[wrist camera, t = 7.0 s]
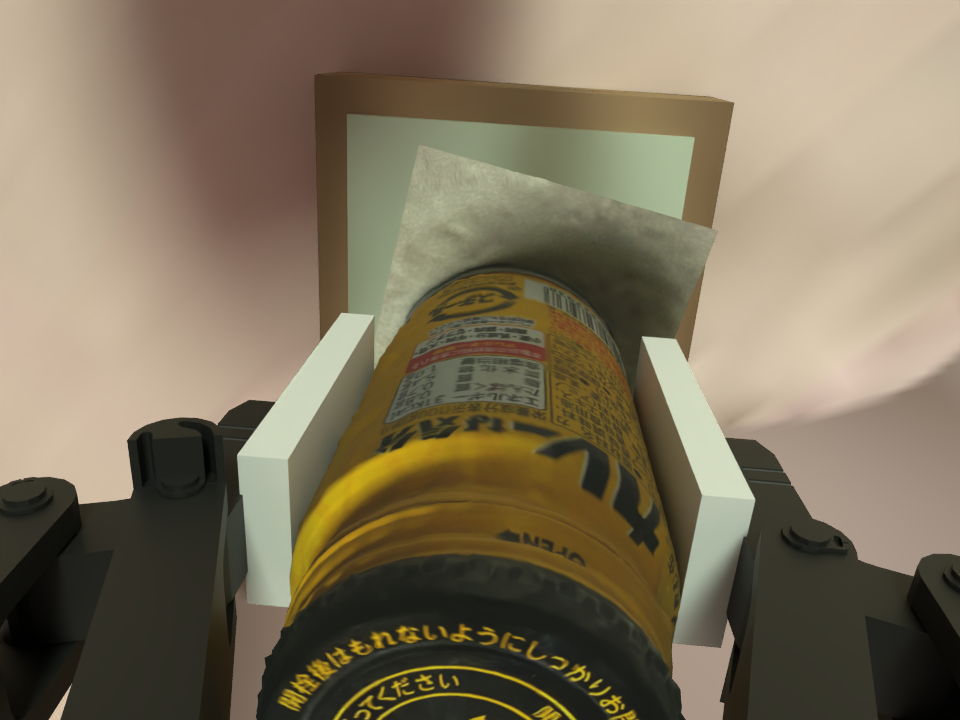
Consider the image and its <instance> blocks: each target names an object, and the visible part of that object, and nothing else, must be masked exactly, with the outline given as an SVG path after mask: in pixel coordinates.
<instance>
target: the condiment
mask: <svg viewBox="0 0 960 720" xmlns="http://www.w3.org/2000/svg"><path fill="white" fill-rule="evenodd" d="M717 232H718V231H717V230H714V229H711V228H708V227H704V226H701V225H697V224H694V223H690V222H685V221H683V220H681V219H678V218H675V217H671V216H668V215H664V214H661V213H657V212H654V211H651V210H647V209H644V208H640V207H637V206H633V205H629V204H625V203H622V202H619V201H616V200H614V199H610V198H606V197H603V196H599V195H595V194H592V193H589V192H585V191H582V190H578V189H575V188H571V187H568V186H564V185H560V184H557V183H554V182H551V181H548V180H546V179H542V178H538V177H533V176H529V175H525V174H521V173H518V172H513V171H510V170H507V169H504V168H500V167H497V166H494V165H490V164H487V163H484V162H480V161H477V160H473V159H468V158H465V157H461V156H458V155H454V154H451V153H447V152H444V151H440V150H437V149H433V148H430V147H426V146H423V145H419V147H418V151H417V155H416V160H415V164H414V168H413V172H412V176H411V181H410V185H409V190H408V194H407V199H406V203H405V208H404V212H403V216H402V220H401V224H400V228H399V233H398V239H397V244H396V248H395V252H394V256H393V260H392V264H391V268H390V272H389V278H388V282H387V286H386V290H385V295H384V300H383V304H382V309H381V314H380V318H379V323H378V327H377V331H376V336H375V340H374V371H373V374H372V377H371V380H370V383H369V386H368V388H367V390H366V391H365V393H364V397H363V399H362V401H361V404H360V406H359V409H358V410H357V412H356V413H355V415H354V416H353V417H352V420H351V423H350V425H349V427H348V428H347V430H346V431H345V433H344V434H343V436H342V437H341V438H340V440H339V441H338V446H337V450H336V452H335V454H334V456H333V459H332V461H331V462H330V464H329V465H328V468H327V472H326V473H325V475H324V477H323V478H322V480H321V482H320V484H319V486H318V488H317V490H316V492H315V494H314V496H313V499H312V501H311V503H310V505H309V507H308V509H307V511H306V513H305V515H304V517H303V519H302V520H301V522H300V524H299V527H298V535H297V541H296V544H295V548H294V551H293V556H292V563H291V569H290V576H289V579H290V594H291V602H290V605H289V608H288V612H287V615H286V620H285V624H284V627H283V629H282V630H281V638H280V639H279V641H278V643H277V644H276V646H275V647H274V649H273V650H272V654H271V655H269V656H268V657H265V663H266V669H265V671H264V674H263V676H262V690H261V691H260V692H259V694H258V707H257V715H256V718H257V720H685V718H684V717H683V715H682V714H681V709H682V704H681V692H680V688H679V687H678V685H677V684H676V683H675V682H674V681H673V679H672V668H673V666H672V641H673V633H674V630H675V625H676V622H677V619H678V612H679V609H680V579H679V573H678V566H677V562H676V558H675V553H674V549H673V545H672V541H671V537H670V533H669V530H668V525H667V521H666V518H665V514H664V511H663V508H662V502H661V499H660V496H659V493H658V491H657V486H656V483H655V479H654V476H653V473H652V468H651V464H650V460H649V457H648V452H647V448H646V446H645V442H644V439H643V435H642V432H641V426H640V424H639V420H638V415H637V412H636V409H635V406H634V403H633V399H632V398H633V392H634V385H635V379H636V372H637V365H638V359H639V352H640V346H641V339H642V336H643V337H656V338H669V339H674V338H675V335H676V333H677V331H678V329H679V326H680V323H681V320H682V317H683V315H684V312H685V310H686V308H687V306H688V303H689V300H690V297H691V295H692V293H693V291H694V288H695V286H696V284H697V282H698V279H699V277H700V275H701V273H702V271H703V268H704V266H705V263H706V260H707V257H708V254H709V252H710V250H711V247H712V245H713V242H714V240H715V237H716V234H717Z"/></svg>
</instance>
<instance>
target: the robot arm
mask: <svg viewBox="0 0 960 720" xmlns="http://www.w3.org/2000/svg"><path fill="white" fill-rule="evenodd" d="M374 321H375V315H363V314H351V313H341V314H340V316H339V317H338V318H337V320H336V321H335V322H334V324H333V325H332V326H331V328H330V329H329V331H328V332H327V333H326V335H325V336H324V337H323V339H322V340H321V341H320V343H319V344H318V346H317V347H316V348H315V350H314V351H313V352H312V354H311V355H310V356H309V358H308V359H307V360H306V362H305V363H304V365H303V366H302V367H301V369H300V370H299V371H298V373H297V374H296V375H295V377H294V378H293V380H292V381H291V382H290V384H289V385H288V386H287V388H286V389H285V390H284V392H283V393H282V395H281V396H280V397H279V399H278V400H277V401H276V402H268V401H256V400H248V401H246V402H245V403H243V404H241V405H239V406H237V407H235V408H233V409H231V410H229V411H228V412H227V414H226V415H225V416H224V417H223V418H222V420H221V421H220V422H219V423H218V426H217V425H216V424H214V423H213V422H211V421H207V420H203V419H199V418H174V419H166V420H161V421H158V422H155V423H151V424H148V425H146V426H144V427H142V428H140V429H139V430H137V431H135V432H134V433H133V434H132V435H131V436H130V438H129V439H128V440H127V443H128V450H129V458H130V465H131V473H132V480H133V488H134V490H133V493H132V496H131V498H130V499H124V500H118V501H109V502H99V503H89V504H79V503H78V497H77V492H76V489H75V486H74V485H73V484H71V483H69V482H68V481H66V480H64V479H58V478H52V477H41V478H36V477H31V478H24V480H21V479H19V480H16V481H12V482H10V483H8V484H6V485H3V486H1V487H0V720H49V718H50V717H51V715H52V713H53V712H54V710H55V709H56V707H57V706H58V704H59V703H60V701H61V699H62V698H63V696H64V695H65V693H66V692H67V690H68V688H69V687H70V685H71V684H72V685H71V688H70V692H69V695H68V698H67V701H66V704H65V707H64V710H63V714H62V717H61V720H230V707H231V693H232V678H233V664H234V650H235V635H236V621H237V615H236V603H235V594H236V592H237V591H238V589H239V587H240V585H241V583H242V581H243V580H244V578H245V576H246V588H247V602H248V604H259V605H270V606H280V607H289V605H290V602H291V594H290V579H289V576H290V569H291V563H292V556H293V551H294V548H295V544H296V541H297V535H298V527H299V524H300V522H301V520H302V519H303V517H304V515H305V513H306V511H307V509H308V507H309V505H310V503H311V501H312V499H313V496H314V494H315V492H316V490H317V488H318V486H319V484H320V482H321V480H322V478H323V477H324V475H325V473H326V472H327V468H328V465H329V464H330V462H331V461H332V459H333V456H334V454H335V452H336V450H337V446H338V441H339V440H340V438H341V437H342V436H343V434H344V433H345V431H346V430H347V428H348V427H349V425H350V423H351V420H352V417H353V416H354V415H355V413H356V412H357V410H358V409H359V406H360V404H361V401H362V399H363V397H364V393H365V391H366V390H367V388H368V386H369V383H370V380H371V377H372V374H373V371H374ZM632 399H633V403H634V406H635V409H636V412H637V415H638V420H639V424H640V426H641V432H642V435H643V439H644V442H645V446H646V448H647V452H648V457H649V460H650V464H651V468H652V473H653V476H654V479H655V483H656V486H657V491H658V493H659V496H660V499H661V502H662V508H663V511H664V514H665V518H666V521H667V525H668V530H669V533H670V537H671V541H672V545H673V549H674V553H675V558H676V562H677V566H678V573H679V579H680V609H679V612H678V619H677V622H676V625H675V630H674V633H673V641H672V643H677V644H686V645H697V646H707V647H719V648H721V645H722V640H723V637H724V632H725V628H726V624H727V619H728V620H729V623H730V626H731V629H732V632H733V635H734V638H735V641H734V645H733V649H732V653H731V657H730V661H729V666H728V670H727V674H726V678H725V683H724V686H723V690H722V694H721V699H720V702H723V703H724V713H723V720H960V556H957V555H952V554H932V555H929V556H926V557H923V558H922V559H921V561H920V562H919V564H918V566H917V569H916V572H915V575H914V577H913V576H910V575H906V574H902V573H899V572H895V571H891V570H888V569H884V568H880V567H877V566H874V565H871V564H867V563H865V562H862V561H860V560H858V557H857V552H856V549H855V547H854V545H853V543H852V542H851V541H850V540H849V539H848V538H847V537H846V536H845V535H844V534H843V533H842V532H841V531H839V530H837V529H835V528H833V527H832V526H830V525H828V524H826V523H824V522H821V521H817V520H814V519H812V517H811V515H810V514H809V512H808V511H807V509H806V507H805V506H804V504H803V502H802V500H801V499H800V497H799V495H798V494H797V492H796V490H795V489H794V487H793V486H791V482H790V480H789V479H788V477H787V475H786V474H785V473H783V469H782V467H781V466H780V464H779V462H778V460H777V458H776V457H775V455H774V454H773V453H771V452H770V451H769V450H767V449H766V448H765V447H763V446H762V445H761V444H760V443H758V442H757V441H756V440H747V439H734V438H725V437H724V435H723V433H722V431H721V429H720V427H719V425H718V423H717V421H716V419H715V417H714V415H713V413H712V411H711V409H710V407H709V405H708V403H707V401H706V399H705V397H704V395H703V393H702V391H701V389H700V387H699V385H698V383H697V381H696V379H695V377H694V375H693V373H692V371H691V369H690V367H689V365H688V363H687V360H686V358H685V356H684V354H683V352H682V350H681V348H680V346H679V344H678V342H677V340H676V339H669V338H656V337H643V336H642V339H641V346H640V352H639V359H638V365H637V372H636V379H635V385H634V392H633V398H632Z"/></svg>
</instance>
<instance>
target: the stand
mask: <svg viewBox="0 0 960 720" xmlns="http://www.w3.org/2000/svg"><path fill="white" fill-rule="evenodd" d="M733 106H734V103H733V102H729V101H725V100H721V99H717V98H713V97H706V96H691V95H676V94H661V93H646V92H631V91H616V90H601V89H586V88H571V87H556V86H541V85H526V84H511V83H496V82H481V81H466V80H450V79H435V78H420V77H405V76H390V75H375V74H360V73H345V72H335V73H326V74H318V75H315V119H316V164H317V209H318V254H319V299H320V341H321V340H322V339H323V337H324V336H325V335H326V333H327V332H328V331H329V329H330V328H331V326H332V325H333V324H334V322H335V321H336V320H337V318H338V317H339V316H340V314H341V313H351V314H363V315H375V321H374V340H375V336H376V331H377V327H378V323H379V318H380V314H381V309H382V304H383V300H384V295H385V290H386V286H387V282H388V278H389V272H390V268H391V264H392V260H393V256H394V252H395V248H396V244H397V239H398V233H399V228H400V224H401V220H402V216H403V212H404V208H405V203H406V199H407V194H408V190H409V185H410V181H411V176H412V172H413V168H414V164H415V160H416V155H417V151H418V147H419V145H423V146H426V147H430V148H433V149H437V150H440V151H444V152H447V153H451V154H454V155H458V156H461V157H465V158H468V159H473V160H477V161H480V162H484V163H487V164H490V165H494V166H497V167H500V168H504V169H507V170H510V171H513V172H518V173H521V174H525V175H529V176H533V177H538V178H542V179H546V180H548V181H551V182H554V183H557V184H560V185H564V186H568V187H571V188H575V189H578V190H582V191H585V192H589V193H592V194H595V195H599V196H603V197H606V198H610V199H614V200H616V201H619V202H622V203H625V204H629V205H633V206H637V207H640V208H644V209H647V210H651V211H654V212H657V213H661V214H664V215H668V216H671V217H675V218H678V219H681V220H683V221H685V222H690V223H694V224H697V225H701V226H704V227H708V228H711V229H712V224H713V218H714V213H715V207H716V201H717V196H718V190H719V185H720V179H721V173H722V168H723V162H724V157H725V151H726V146H727V140H728V134H729V129H730V123H731V118H732V112H733ZM704 268H705V266H704ZM704 268H703V271H702V273H701V275H700V277H699V279H698V282H697V284H696V286H695V288H694V291H693V293H692V295H691V297H690V300H689V303H688V306H687V308H686V310H685V312H684V315H683V317H682V320H681V323H680V326H679V329H678V331H677V333H676V335H675V338H674V339H676V340H677V342H678V344H679V346H680V348H681V350H682V352H683V354H684V356H685V358H686V360H687V363H688V358H689V352H690V347H691V341H692V335H693V330H694V324H695V319H696V313H697V308H698V302H699V296H700V291H701V285H702V280H703V274H704Z"/></svg>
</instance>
